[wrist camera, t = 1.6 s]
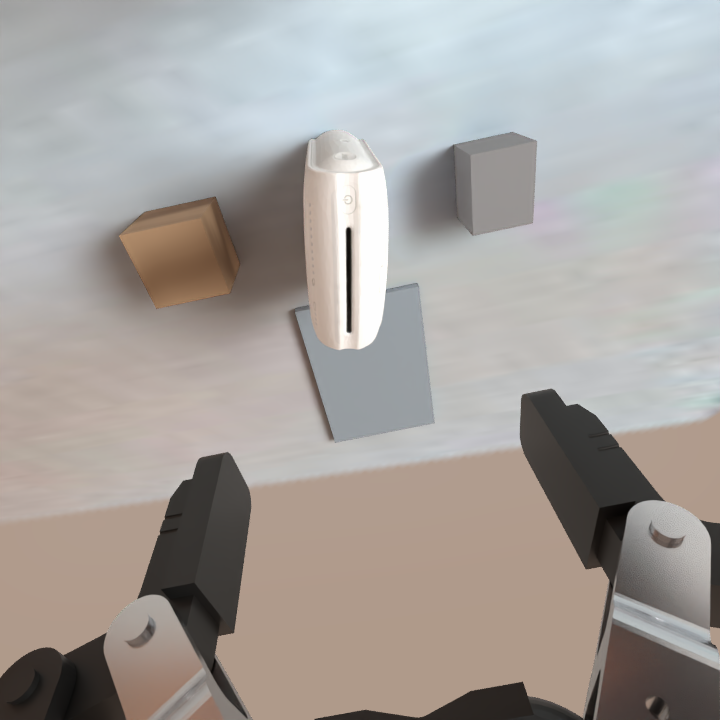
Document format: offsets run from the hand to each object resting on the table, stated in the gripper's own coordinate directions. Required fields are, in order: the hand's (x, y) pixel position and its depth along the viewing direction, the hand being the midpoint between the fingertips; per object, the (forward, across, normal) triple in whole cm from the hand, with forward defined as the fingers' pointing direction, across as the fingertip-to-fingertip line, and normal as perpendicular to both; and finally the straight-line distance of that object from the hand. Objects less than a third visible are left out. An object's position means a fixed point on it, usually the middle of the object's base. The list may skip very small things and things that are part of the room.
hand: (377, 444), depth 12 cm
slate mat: (+23, 0, +14) cm, 27 cm away
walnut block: (+23, +10, 0) cm, 25 cm away
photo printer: (+23, 0, 0) cm, 23 cm away
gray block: (+23, -10, 0) cm, 26 cm away
